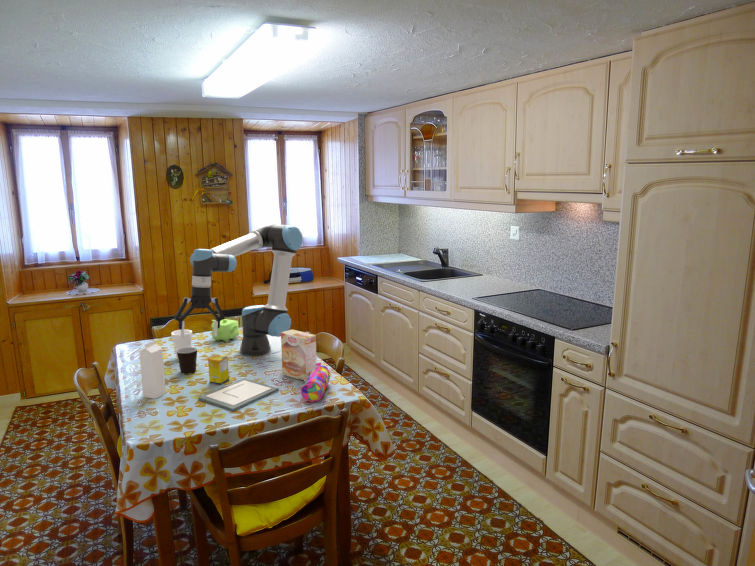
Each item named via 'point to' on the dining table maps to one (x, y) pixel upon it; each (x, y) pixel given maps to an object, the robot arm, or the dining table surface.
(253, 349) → the robot arm
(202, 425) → the dining table surface
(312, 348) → the coffeecake box
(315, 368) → the pencil case
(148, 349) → the milk
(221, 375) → the supplement box
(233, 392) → the paper pad
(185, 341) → the foam cup
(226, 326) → the green lumpy block
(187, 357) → the coffee mug
